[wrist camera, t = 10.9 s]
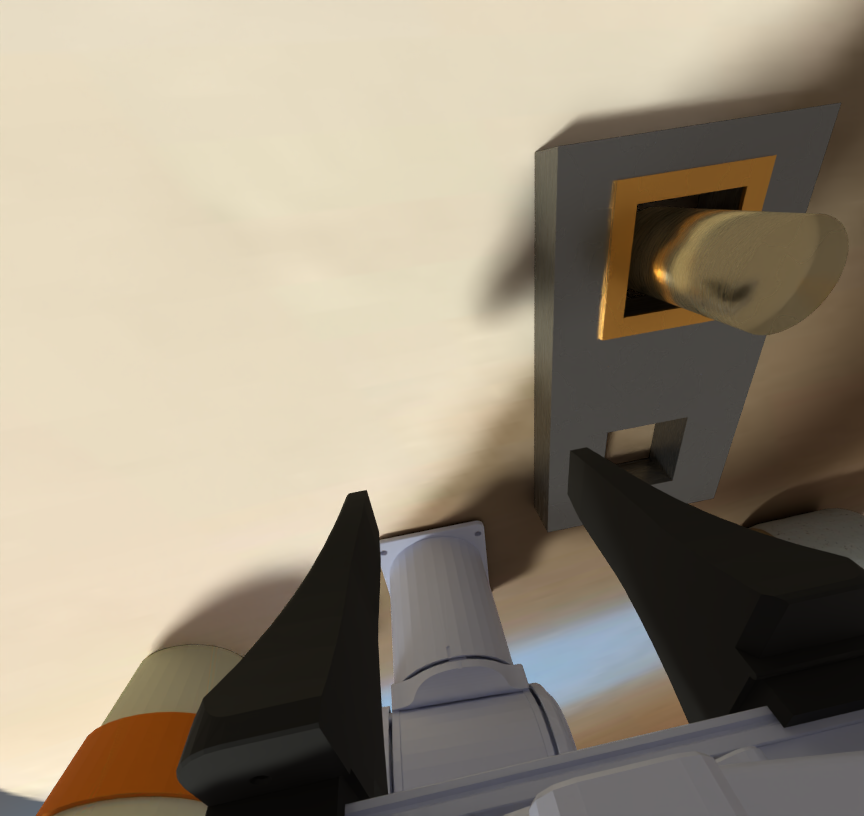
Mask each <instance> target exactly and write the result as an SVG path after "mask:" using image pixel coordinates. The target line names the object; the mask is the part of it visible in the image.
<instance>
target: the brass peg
mask: <svg viewBox="0 0 864 816" xmlns="http://www.w3.org/2000/svg"><path fill="white" fill-rule="evenodd" d="M847 255H848V237H847V233H846V230H845V228H844V226H843V225H842V224H841V222H840V221H838V220H837V219H836V218H834V217H832V216H829V215H826V214H811V213H789V212H766V211H744V210H721V209H699V208H676V207H650V208H646V209H643V210H641V211H639V212H637V213H636V219H635V227H634V235H633V244H632V252H631V260H630V268H629V276H628V285H627V288H629V289H632V290H635V291H638V292H640V293H643V294H646V295H648V296H651V297H654V298H656V299H659V300H662V301H665V302H667V303H670V304H673V305H675V306H678V307H681V308H684V309H686V310H689V311H692V312H694V313H697V314H700V315H702V316H705V317H708V318H711V319H713V320H716V321H719V322H721V323H724V324H727V325H729V326H732V327H735V328H738V329H740V330H743V331H746V332H748V333H751V334H755V335H770V334H775V333H779V332H781V331H784V330H786V329H788V328H790V327H792V326H794V325H796V324H798V323H799V322H801V321H802V320H804V319H805V318H806V317H808V316H809V315H810V314H811V313H812V312H813V311H815V310H816V309H817V308H818V307H819V306H820V305H821V303H822V302H823V301H824V300H825V299H826V298H827V296H828V295H829V294H830V293H831V291H832V290H833V288H834V287H835V285H836V283H837V282H838V280H839V278H840V276H841V274H842V271H843V269H844V266H845V263H846V259H847Z"/></svg>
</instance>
